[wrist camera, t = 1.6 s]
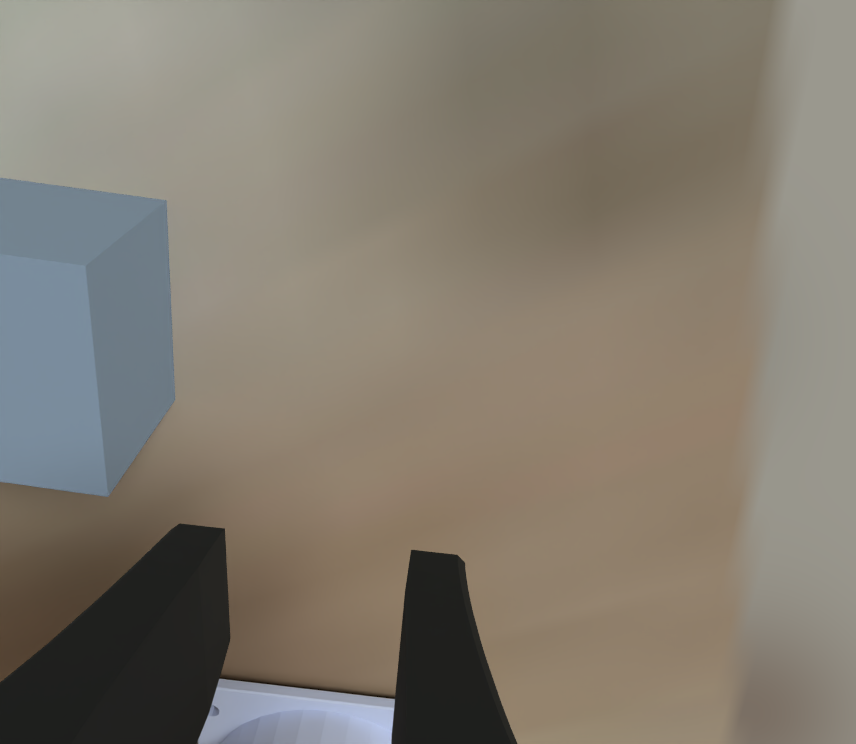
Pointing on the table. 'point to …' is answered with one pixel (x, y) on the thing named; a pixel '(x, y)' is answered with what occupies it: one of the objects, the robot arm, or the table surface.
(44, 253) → the slate block
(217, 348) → the table surface
